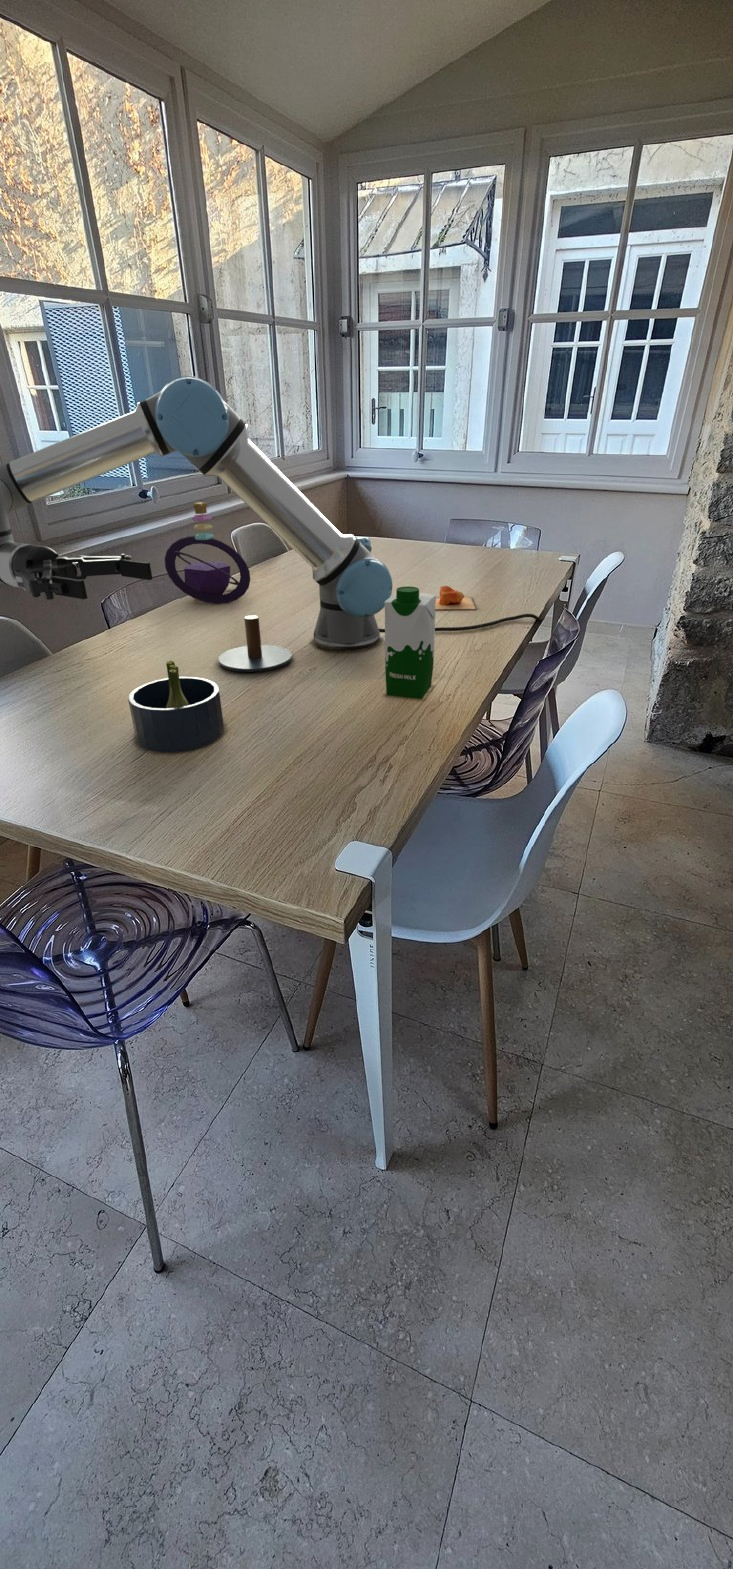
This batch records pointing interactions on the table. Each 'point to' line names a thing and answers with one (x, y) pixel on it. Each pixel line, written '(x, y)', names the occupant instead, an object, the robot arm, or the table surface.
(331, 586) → the robot arm
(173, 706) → the fennel bulb
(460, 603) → the rock
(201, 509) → the decorative bottle
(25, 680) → the table surface
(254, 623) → the pot lid
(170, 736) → the pot
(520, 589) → the table surface
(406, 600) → the milk carton
